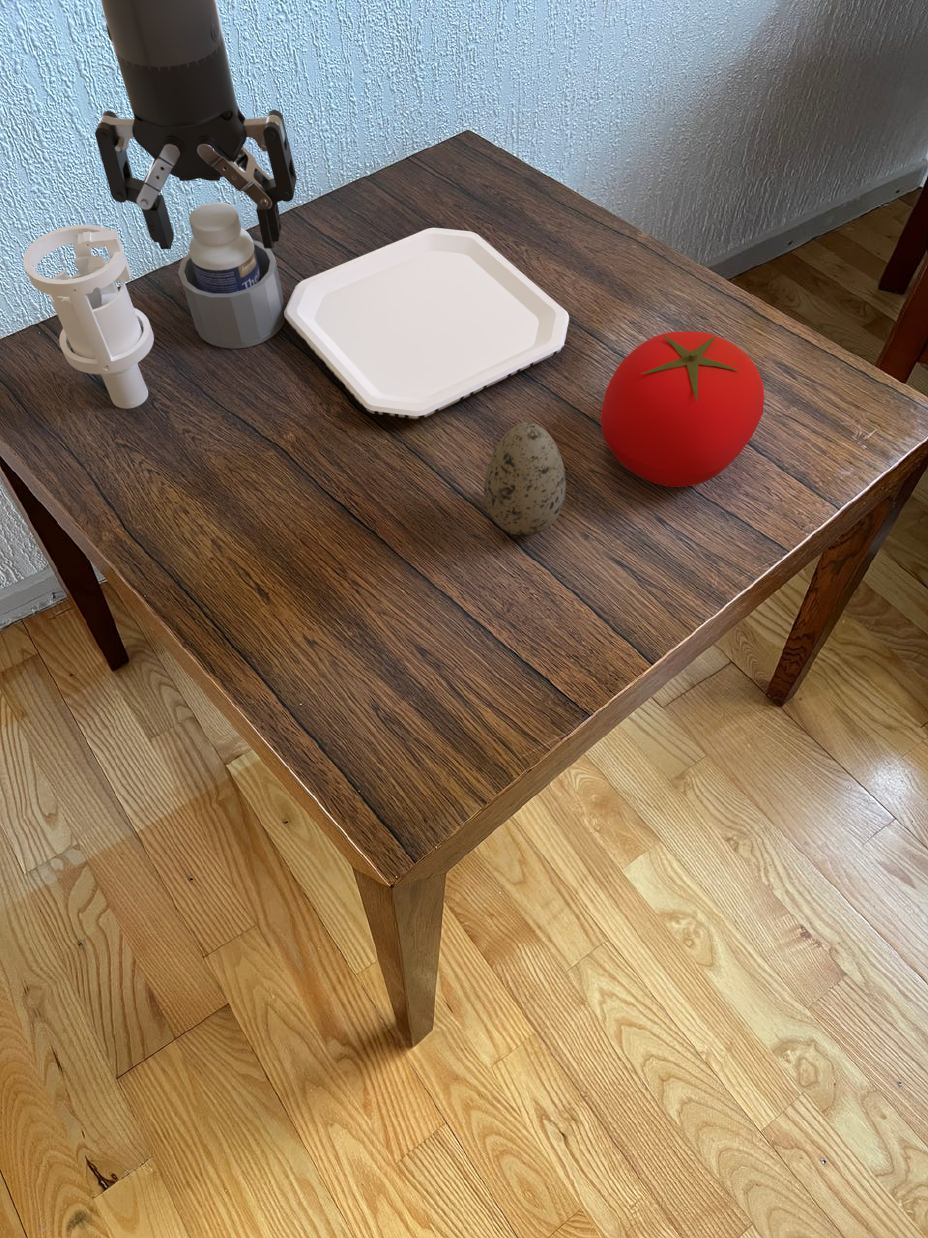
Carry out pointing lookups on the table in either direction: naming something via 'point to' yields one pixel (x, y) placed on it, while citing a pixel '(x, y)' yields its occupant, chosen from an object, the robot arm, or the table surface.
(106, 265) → the white ringed tube holder
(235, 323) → the grey faceted pot
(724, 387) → the tomato
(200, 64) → the robot arm
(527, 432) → the decorative egg
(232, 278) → the pill bottle
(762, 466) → the table surface
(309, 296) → the plate
